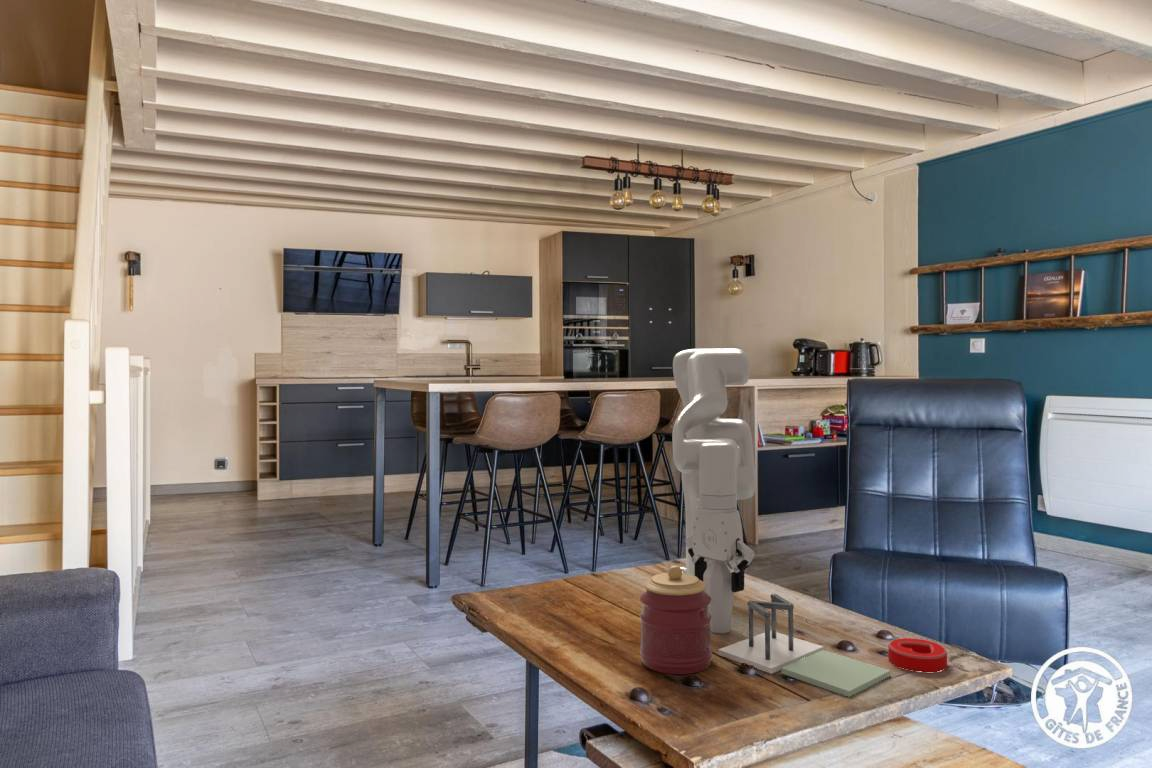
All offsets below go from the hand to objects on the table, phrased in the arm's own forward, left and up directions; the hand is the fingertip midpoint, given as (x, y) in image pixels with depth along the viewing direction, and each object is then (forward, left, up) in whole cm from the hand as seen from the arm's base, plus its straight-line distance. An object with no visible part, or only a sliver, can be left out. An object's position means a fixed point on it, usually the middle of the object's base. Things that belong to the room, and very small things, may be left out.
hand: (718, 586), depth 156 cm
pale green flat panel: (+28, -3, -9) cm, 30 cm away
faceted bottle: (0, 0, -9) cm, 9 cm away
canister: (+6, -19, -9) cm, 22 cm away
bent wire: (+15, -3, -9) cm, 18 cm away
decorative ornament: (+35, +13, -10) cm, 38 cm away
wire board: (+15, -3, -9) cm, 18 cm away
